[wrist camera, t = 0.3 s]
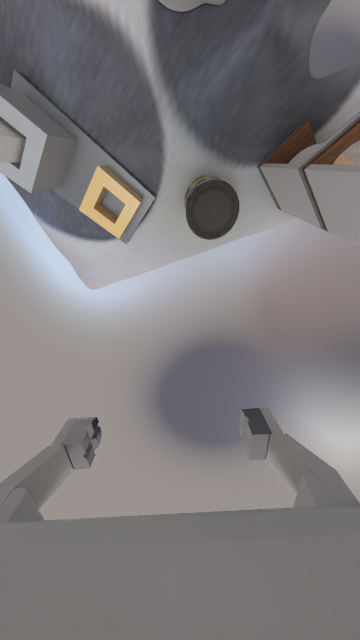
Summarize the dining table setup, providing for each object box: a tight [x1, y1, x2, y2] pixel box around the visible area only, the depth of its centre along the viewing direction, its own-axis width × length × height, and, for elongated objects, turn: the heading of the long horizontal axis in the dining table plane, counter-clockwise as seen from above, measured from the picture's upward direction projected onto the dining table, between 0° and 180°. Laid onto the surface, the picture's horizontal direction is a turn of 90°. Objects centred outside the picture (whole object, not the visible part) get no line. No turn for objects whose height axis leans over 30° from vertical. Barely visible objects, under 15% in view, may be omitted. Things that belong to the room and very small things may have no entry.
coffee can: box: [185, 176, 239, 240], centre depth 43 cm, size 10×10×14 cm
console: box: [0, 70, 156, 244], centre depth 39 cm, size 14×30×14 cm, turn 50°
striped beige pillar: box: [257, 112, 360, 246], centre depth 31 cm, size 11×11×35 cm
